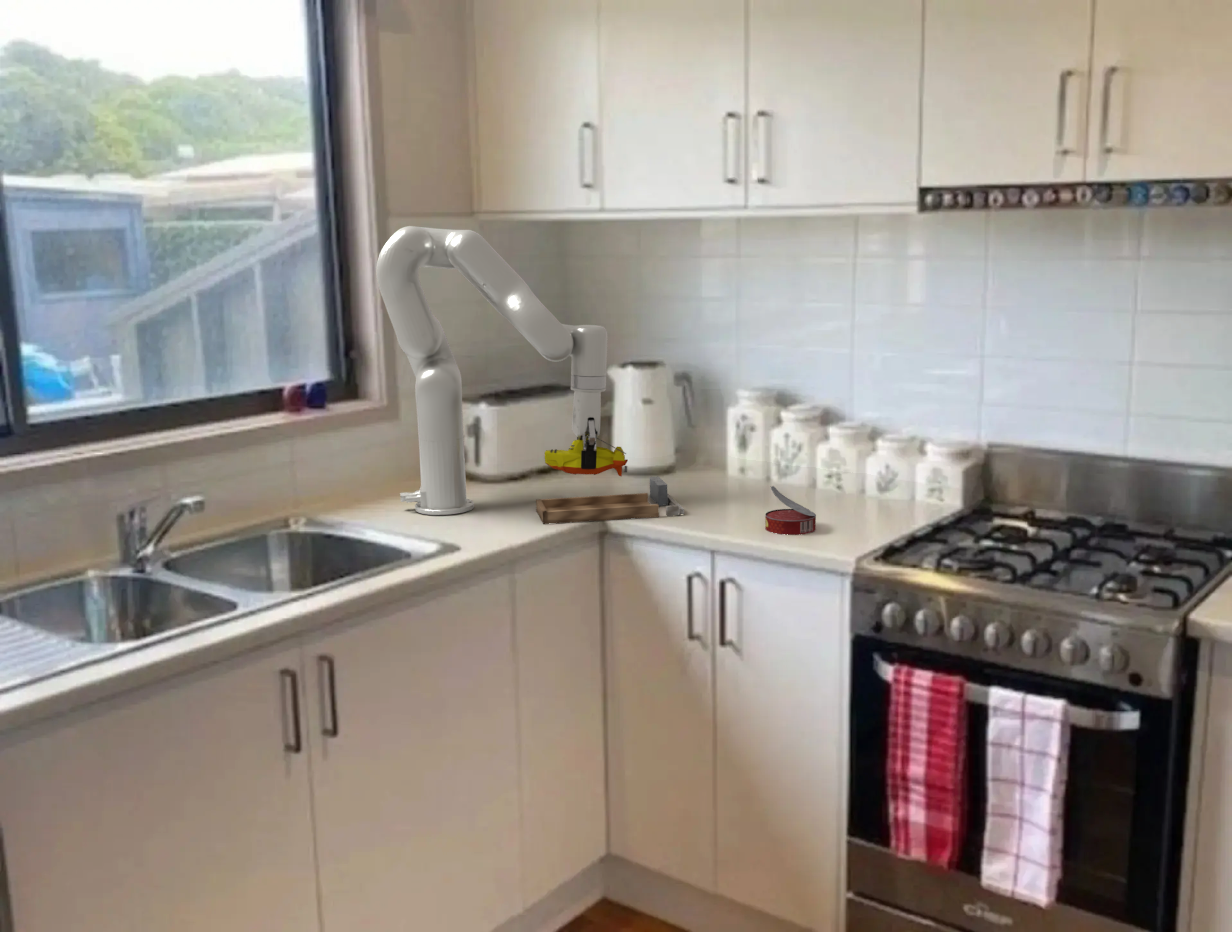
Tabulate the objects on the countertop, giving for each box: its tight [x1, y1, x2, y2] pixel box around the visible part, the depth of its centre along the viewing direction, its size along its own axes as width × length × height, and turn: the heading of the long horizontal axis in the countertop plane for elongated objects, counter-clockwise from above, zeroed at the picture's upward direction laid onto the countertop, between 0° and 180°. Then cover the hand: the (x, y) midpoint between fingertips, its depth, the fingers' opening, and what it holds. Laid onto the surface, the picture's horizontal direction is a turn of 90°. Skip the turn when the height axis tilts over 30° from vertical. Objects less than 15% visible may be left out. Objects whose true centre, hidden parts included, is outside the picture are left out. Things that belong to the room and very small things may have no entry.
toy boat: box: [544, 435, 628, 477], centre depth 261 cm, size 6×18×10 cm, turn 89°
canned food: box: [764, 485, 817, 536], centre depth 237 cm, size 11×10×10 cm
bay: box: [535, 492, 685, 525], centre depth 257 cm, size 30×20×2 cm
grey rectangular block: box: [649, 476, 669, 507], centre depth 262 cm, size 2×9×4 cm, turn 10°
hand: (585, 464), depth 262 cm, fingers closed on toy boat, 6 cm apart
